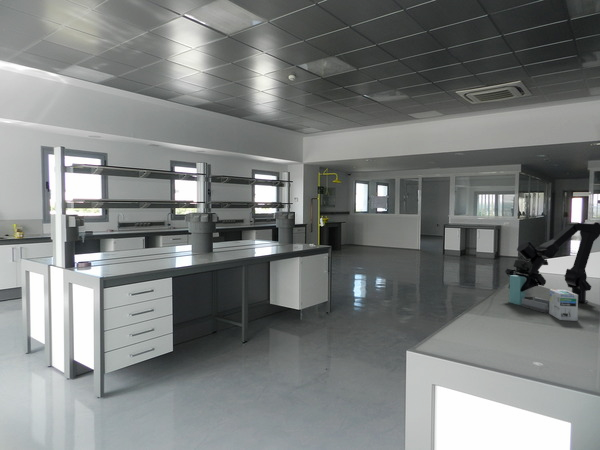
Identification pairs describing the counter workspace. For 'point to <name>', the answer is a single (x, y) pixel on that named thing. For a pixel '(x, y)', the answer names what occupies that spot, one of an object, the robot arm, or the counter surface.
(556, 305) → the light bulb box
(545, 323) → the counter surface
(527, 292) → the glass holder
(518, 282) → the teal rectangular block
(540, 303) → the floor track
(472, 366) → the counter surface
